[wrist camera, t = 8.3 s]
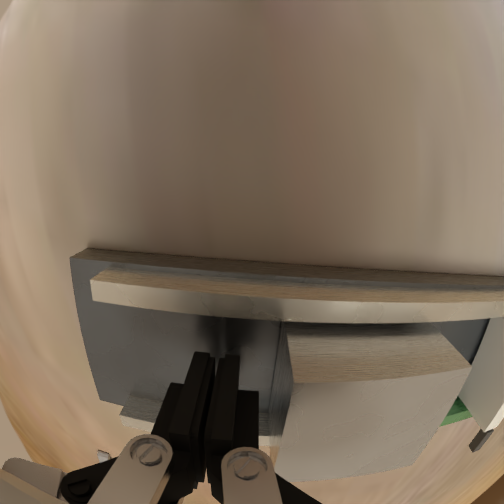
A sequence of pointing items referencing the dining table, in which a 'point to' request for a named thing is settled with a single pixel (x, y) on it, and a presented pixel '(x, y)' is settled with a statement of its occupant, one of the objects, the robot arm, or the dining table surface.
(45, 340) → the dining table surface
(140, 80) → the dining table surface
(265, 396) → the gauge bed
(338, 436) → the grey block
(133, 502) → the robot arm
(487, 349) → the white slab
